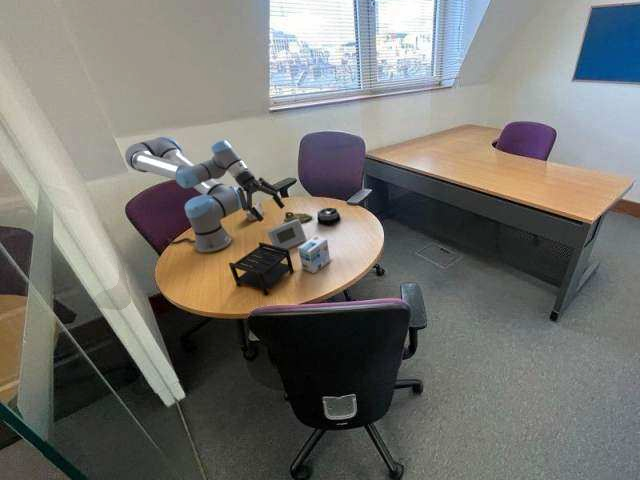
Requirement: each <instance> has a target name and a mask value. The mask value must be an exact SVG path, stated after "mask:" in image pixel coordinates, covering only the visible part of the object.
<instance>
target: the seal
mask: <svg viewBox="0 0 640 480" xmlns="http://www.w3.org/2000/svg"><path fill="white" fill-rule="evenodd" d="M296 219H299V221H300V223H301V224H302V223H306V222H309V221H310V220H312V219H313V216H311V215H310V214H308V213H301V212H299V213H294V212H292V211H286V212H285V213H284V220H285V221H286V223H287V222H290V221H293V220H296Z"/></svg>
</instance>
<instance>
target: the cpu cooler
mask: <svg viewBox="0 0 640 480" xmlns="http://www.w3.org/2000/svg"><path fill="white" fill-rule="evenodd" d="M316 218H317V223H318V224H320V225H324V226H328V227H330V226H333V225H335V224H336V223H338V222H340V220H341V214H340V213H339V211H338V208H335V207H325V208H322V209H320V210H319V211H317V217H316Z"/></svg>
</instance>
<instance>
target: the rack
mask: <svg viewBox="0 0 640 480" xmlns="http://www.w3.org/2000/svg"><path fill="white" fill-rule="evenodd" d="M275 250H277V251H275ZM279 251H280V252H279ZM285 259H286V262H287V263H284V262H283V261H284V260H285ZM228 265H229V269H230V271H231V274H232V276H233V279H234V282H235V284H236V287H238V288H239V287H241V286H242V285H243V286H248V287H250V288H253V289H256V290H258V291H261V292H262V294H263V296H265V297H267V296H268V295H269V291H268V290H269V289H270V288H271V287H272V286H273V285H274V284H276V283H277V282H278V281H279V280H280V279H281V278H283V277H284V276H285V275H286V274H287V273H288V272H289V273H290V274H293V273H294V271H295V269H294V267H293V261H292V258H291V254H290V249H285V248H281V247H277V246H273V245H272V244H269V243H265V242H261V241H259V242H258V247H256V248H255V249H253V250H251V251H250V252H249V253H247V254H246V255H245V256H243V257H242V258H240V259H239V260H237V261H235V262H231V261H230V262H228ZM237 270H239V271H243V272H244V273H242V274H241V275H240V276H239V274H238V271H237Z"/></svg>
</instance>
